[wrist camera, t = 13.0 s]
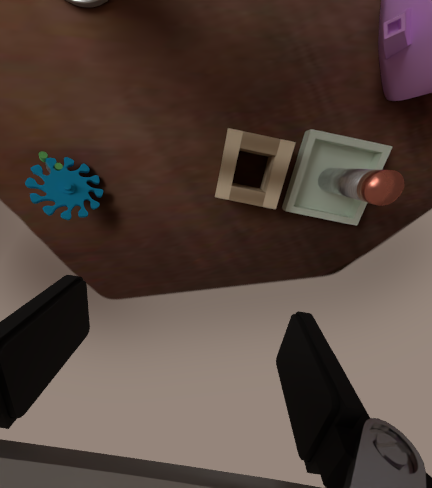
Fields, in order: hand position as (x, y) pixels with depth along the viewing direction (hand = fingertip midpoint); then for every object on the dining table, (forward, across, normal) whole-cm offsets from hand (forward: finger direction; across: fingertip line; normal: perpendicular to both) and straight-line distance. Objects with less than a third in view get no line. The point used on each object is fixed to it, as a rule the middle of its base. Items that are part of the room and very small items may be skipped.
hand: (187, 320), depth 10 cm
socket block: (+30, -4, -6) cm, 30 cm away
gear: (+30, +24, +1) cm, 38 cm away
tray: (+29, -18, -7) cm, 35 cm away
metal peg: (+29, -17, -7) cm, 34 cm away
